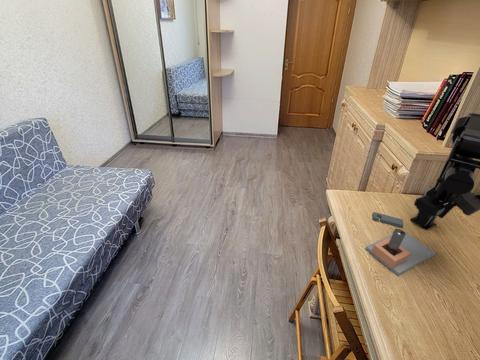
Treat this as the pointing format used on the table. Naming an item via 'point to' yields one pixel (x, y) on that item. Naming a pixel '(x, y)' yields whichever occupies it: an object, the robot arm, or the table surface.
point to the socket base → (401, 254)
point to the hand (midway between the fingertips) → (431, 221)
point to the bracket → (387, 220)
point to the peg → (395, 241)
